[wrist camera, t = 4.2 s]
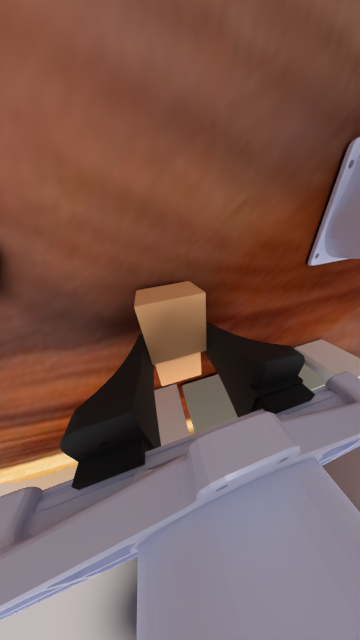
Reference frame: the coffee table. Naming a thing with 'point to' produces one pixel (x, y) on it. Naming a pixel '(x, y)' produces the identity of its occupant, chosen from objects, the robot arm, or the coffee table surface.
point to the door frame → (314, 352)
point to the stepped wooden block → (173, 328)
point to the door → (215, 405)
